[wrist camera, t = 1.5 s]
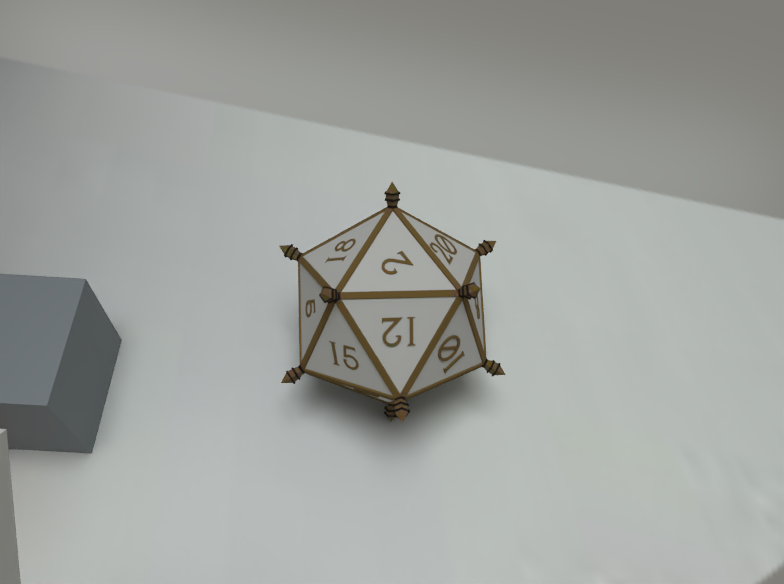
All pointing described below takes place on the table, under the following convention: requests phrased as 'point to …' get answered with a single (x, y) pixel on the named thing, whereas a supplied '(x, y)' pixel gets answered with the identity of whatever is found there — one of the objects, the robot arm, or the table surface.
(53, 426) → the slate block
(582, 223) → the table surface
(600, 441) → the table surface
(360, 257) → the game die
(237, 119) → the table surface
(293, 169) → the table surface
